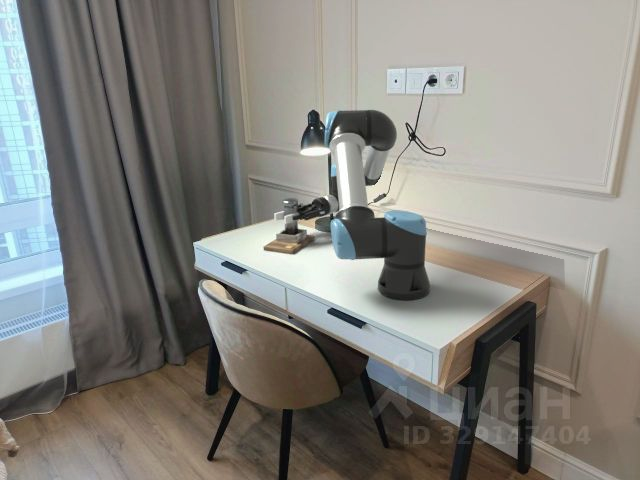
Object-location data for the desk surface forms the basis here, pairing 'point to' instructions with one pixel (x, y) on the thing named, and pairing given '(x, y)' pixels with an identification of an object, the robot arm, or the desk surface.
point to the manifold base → (289, 242)
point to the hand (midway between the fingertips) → (280, 218)
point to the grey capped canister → (289, 209)
